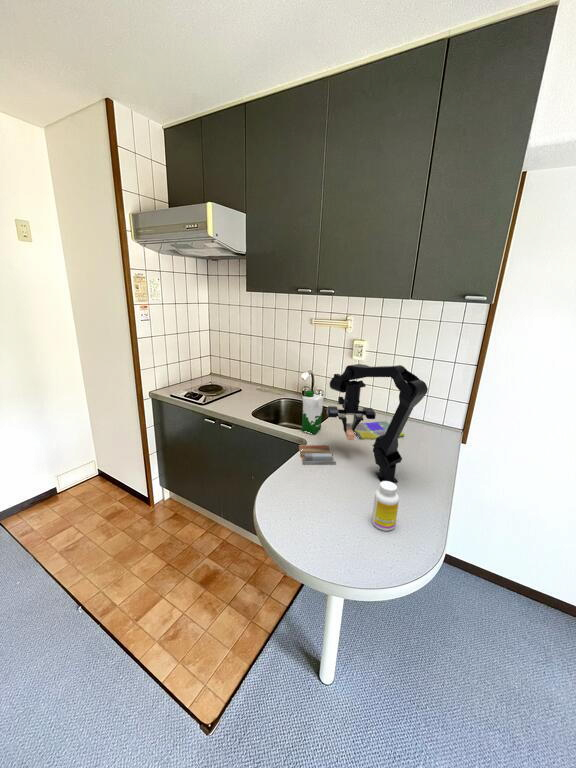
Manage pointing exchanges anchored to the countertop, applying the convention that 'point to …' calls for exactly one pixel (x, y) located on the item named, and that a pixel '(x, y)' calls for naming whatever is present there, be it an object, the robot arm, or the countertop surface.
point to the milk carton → (312, 412)
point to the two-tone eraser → (349, 433)
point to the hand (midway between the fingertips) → (348, 432)
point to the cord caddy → (315, 450)
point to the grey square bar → (318, 457)
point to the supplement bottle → (385, 506)
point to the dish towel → (365, 430)
